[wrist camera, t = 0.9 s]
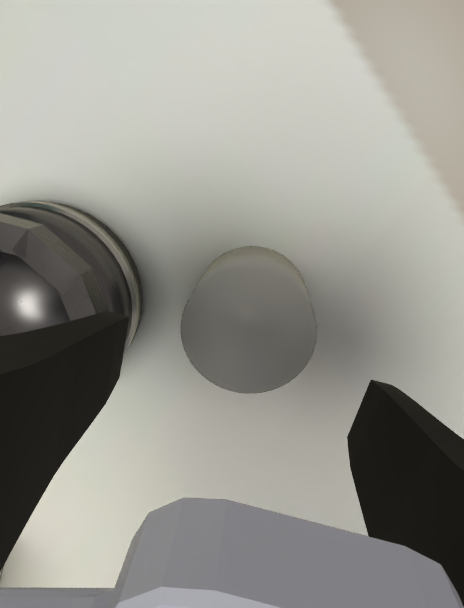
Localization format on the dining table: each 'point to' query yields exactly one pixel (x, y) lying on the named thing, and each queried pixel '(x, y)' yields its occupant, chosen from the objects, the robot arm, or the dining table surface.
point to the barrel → (62, 269)
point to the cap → (249, 321)
